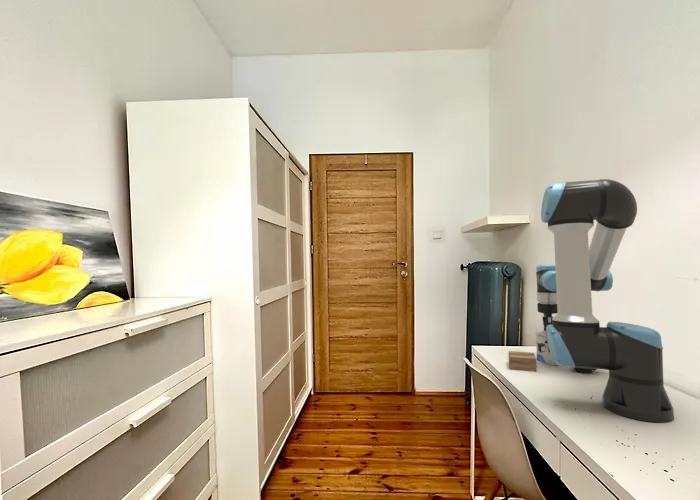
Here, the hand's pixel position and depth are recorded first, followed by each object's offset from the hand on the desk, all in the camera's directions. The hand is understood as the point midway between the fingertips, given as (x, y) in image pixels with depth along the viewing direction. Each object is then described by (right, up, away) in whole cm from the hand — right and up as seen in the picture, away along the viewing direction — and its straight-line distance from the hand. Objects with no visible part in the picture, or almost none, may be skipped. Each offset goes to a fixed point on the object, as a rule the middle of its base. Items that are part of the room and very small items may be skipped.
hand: (549, 355), depth 141 cm
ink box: (0, -3, 0) cm, 3 cm away
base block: (-14, -3, -6) cm, 15 cm away
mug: (+7, -2, -13) cm, 15 cm away
